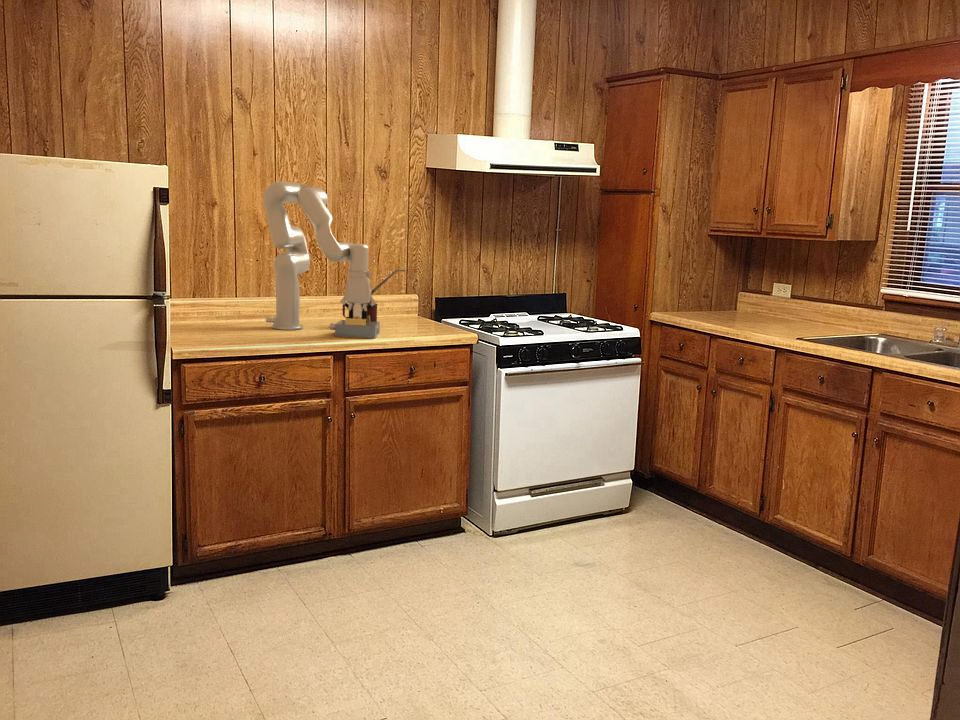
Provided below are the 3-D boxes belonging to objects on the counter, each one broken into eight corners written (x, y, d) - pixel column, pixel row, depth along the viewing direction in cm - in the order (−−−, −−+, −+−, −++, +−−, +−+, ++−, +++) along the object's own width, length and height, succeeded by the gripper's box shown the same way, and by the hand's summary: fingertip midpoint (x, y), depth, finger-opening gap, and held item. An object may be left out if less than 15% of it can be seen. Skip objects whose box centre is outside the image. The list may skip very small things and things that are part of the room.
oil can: (347, 329, 355) (348, 270, 351) (339, 325, 365) (340, 268, 361) (408, 327, 368) (410, 270, 364) (399, 324, 378) (401, 268, 373)
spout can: (352, 328, 343) (353, 298, 341) (364, 328, 343) (365, 299, 341) (351, 329, 338) (351, 300, 336) (362, 330, 338) (363, 300, 336)
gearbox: (327, 336, 335) (327, 317, 333) (333, 331, 348) (334, 313, 346) (375, 338, 335) (375, 319, 333) (379, 333, 347) (379, 315, 346)
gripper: (380, 275, 340) (379, 319, 344) (339, 273, 340) (338, 318, 344) (378, 276, 333) (377, 322, 336) (335, 274, 333) (335, 320, 336)
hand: (357, 319), depth 340 cm, fingers closed on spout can, 4 cm apart
